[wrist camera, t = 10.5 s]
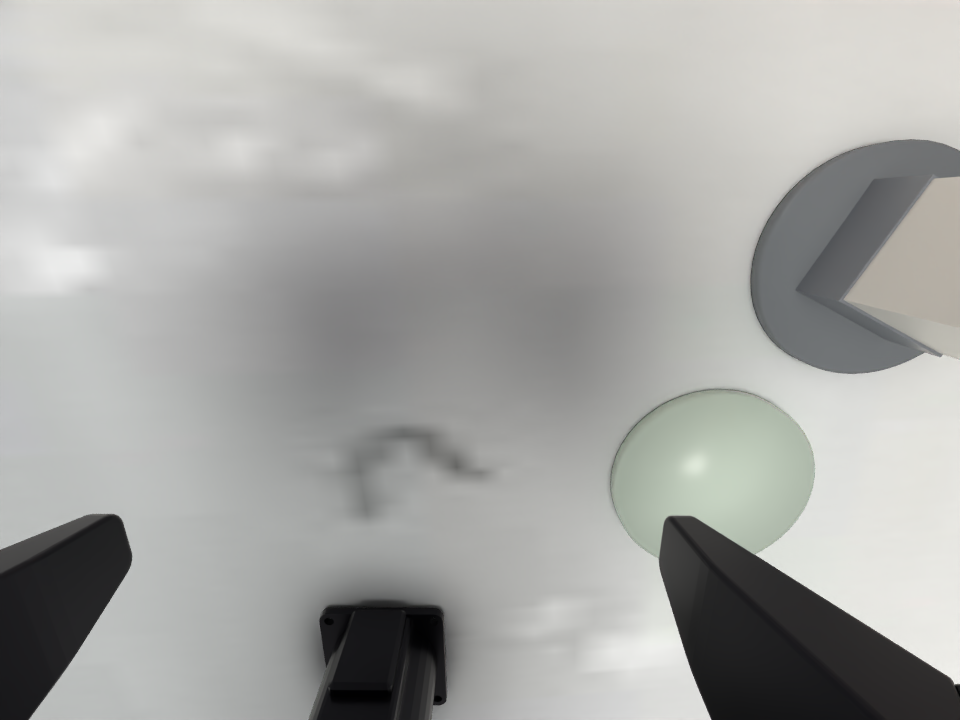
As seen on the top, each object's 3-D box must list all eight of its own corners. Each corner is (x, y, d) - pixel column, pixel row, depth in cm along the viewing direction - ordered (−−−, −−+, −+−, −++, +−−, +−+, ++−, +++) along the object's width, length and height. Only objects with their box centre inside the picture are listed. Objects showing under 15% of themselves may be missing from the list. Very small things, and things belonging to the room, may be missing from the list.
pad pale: (783, 555, 23) (793, 567, 22) (604, 555, 23) (608, 566, 23) (822, 389, 21) (834, 395, 20) (618, 389, 21) (623, 396, 20)
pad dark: (942, 367, 20) (960, 373, 19) (734, 368, 20) (744, 374, 20) (1013, 141, 17) (1037, 137, 17) (772, 143, 18) (785, 141, 17)
